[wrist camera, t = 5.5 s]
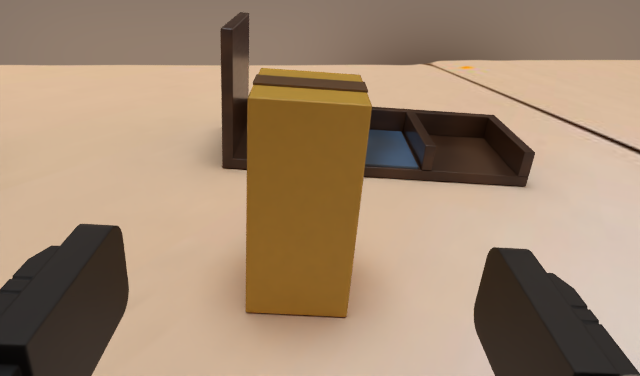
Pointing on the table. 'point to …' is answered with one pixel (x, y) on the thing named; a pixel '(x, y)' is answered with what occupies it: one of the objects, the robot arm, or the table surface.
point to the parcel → (303, 189)
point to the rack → (388, 132)
